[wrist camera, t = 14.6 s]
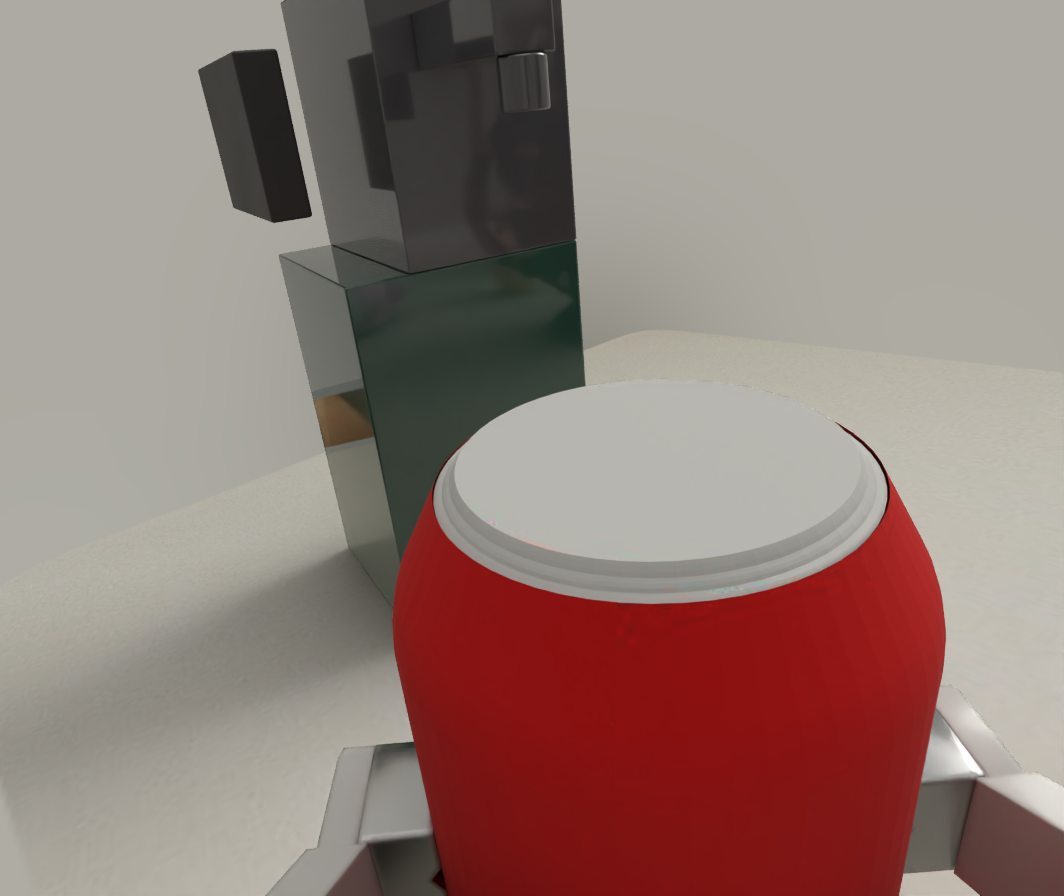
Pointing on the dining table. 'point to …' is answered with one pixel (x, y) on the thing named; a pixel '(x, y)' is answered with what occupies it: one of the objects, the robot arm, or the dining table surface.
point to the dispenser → (430, 241)
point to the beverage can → (668, 650)
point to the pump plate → (256, 135)
